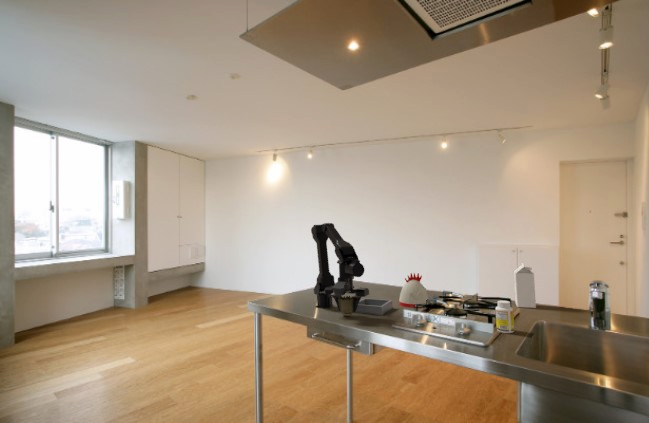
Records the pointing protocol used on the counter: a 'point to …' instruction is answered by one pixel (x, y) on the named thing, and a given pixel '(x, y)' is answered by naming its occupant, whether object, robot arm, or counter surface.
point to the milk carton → (524, 287)
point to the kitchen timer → (413, 292)
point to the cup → (346, 305)
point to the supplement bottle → (504, 317)
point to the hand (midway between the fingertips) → (347, 311)
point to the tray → (374, 306)
